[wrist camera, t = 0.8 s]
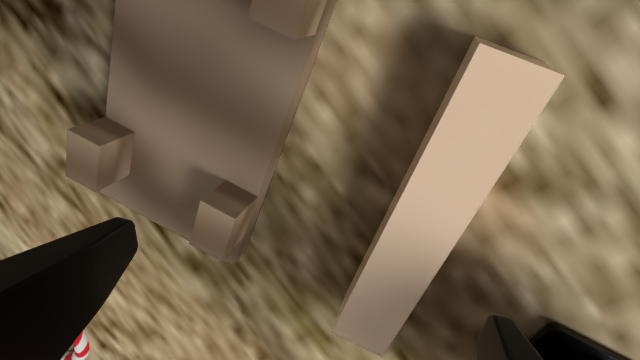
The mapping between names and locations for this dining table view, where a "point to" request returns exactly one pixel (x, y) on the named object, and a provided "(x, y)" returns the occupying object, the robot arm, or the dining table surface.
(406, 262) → the clay strip
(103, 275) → the robot arm
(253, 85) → the tabbed beige plate
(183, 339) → the dining table surface
